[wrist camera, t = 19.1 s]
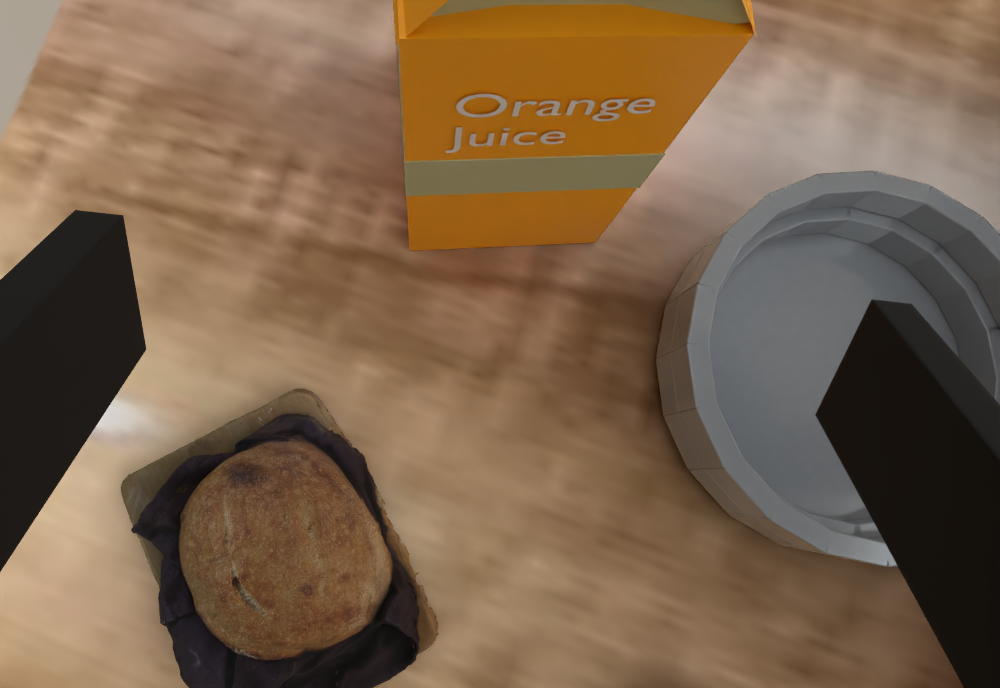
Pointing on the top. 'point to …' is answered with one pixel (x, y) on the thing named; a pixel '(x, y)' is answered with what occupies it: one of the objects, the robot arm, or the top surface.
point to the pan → (813, 341)
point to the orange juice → (547, 109)
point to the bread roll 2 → (278, 556)
